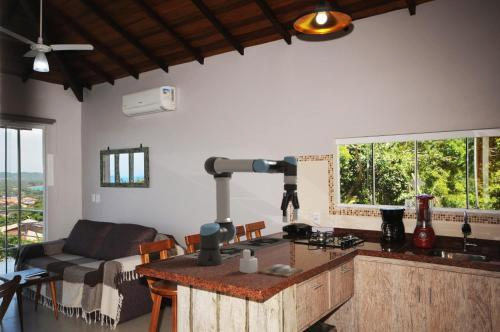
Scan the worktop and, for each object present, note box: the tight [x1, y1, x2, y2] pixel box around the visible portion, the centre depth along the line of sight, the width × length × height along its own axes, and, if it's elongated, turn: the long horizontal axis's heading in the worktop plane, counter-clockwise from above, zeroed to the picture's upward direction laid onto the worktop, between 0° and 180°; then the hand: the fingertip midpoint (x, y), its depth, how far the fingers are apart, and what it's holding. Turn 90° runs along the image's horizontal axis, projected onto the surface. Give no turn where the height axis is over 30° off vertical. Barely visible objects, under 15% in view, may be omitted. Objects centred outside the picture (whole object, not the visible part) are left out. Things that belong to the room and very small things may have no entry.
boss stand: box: [257, 263, 304, 279], centre depth 200 cm, size 18×18×3 cm
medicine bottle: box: [239, 248, 259, 275], centre depth 201 cm, size 7×7×12 cm
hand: (290, 221), depth 207 cm, fingers open, 13 cm apart
